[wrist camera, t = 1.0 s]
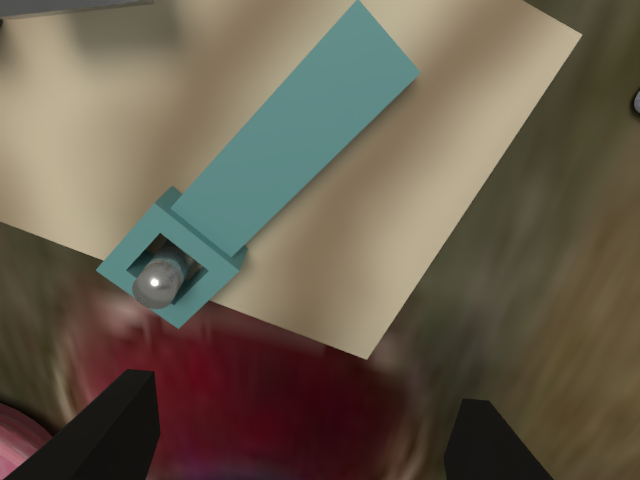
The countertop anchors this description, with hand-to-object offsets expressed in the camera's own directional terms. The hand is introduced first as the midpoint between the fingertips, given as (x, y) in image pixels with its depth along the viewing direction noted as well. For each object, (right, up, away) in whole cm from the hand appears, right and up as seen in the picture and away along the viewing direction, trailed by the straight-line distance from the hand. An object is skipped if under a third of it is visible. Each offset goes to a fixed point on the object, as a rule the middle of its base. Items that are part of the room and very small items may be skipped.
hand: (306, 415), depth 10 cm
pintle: (-5, +4, +7) cm, 10 cm away
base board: (-3, +9, +6) cm, 11 cm away
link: (-2, +7, +6) cm, 9 cm away
